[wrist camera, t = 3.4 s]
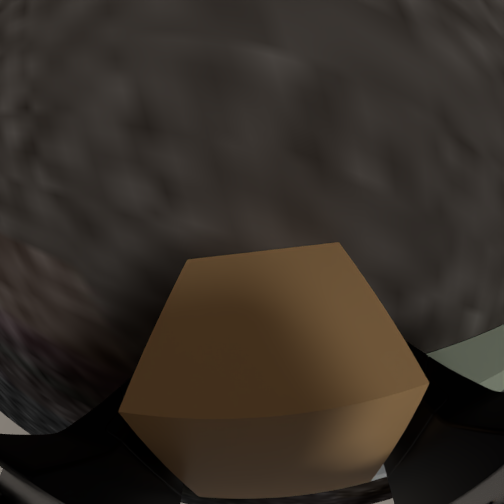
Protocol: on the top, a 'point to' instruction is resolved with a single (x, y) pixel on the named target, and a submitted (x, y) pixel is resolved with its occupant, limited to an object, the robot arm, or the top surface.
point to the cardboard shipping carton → (273, 376)
